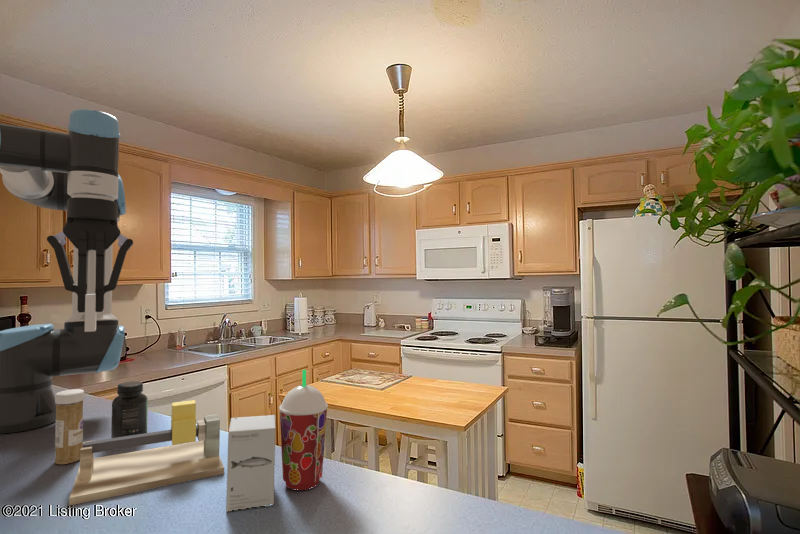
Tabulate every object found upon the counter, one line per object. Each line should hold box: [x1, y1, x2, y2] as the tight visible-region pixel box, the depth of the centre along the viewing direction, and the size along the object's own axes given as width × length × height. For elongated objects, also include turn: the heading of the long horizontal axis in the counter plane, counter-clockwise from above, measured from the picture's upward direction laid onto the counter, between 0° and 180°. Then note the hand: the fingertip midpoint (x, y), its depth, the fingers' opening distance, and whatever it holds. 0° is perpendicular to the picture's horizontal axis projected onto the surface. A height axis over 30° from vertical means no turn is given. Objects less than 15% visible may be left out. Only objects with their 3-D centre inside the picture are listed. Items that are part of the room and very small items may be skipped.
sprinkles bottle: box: [54, 388, 85, 465], centre depth 87 cm, size 5×5×14 cm
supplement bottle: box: [110, 381, 149, 438], centre depth 99 cm, size 7×7×12 cm
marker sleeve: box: [170, 399, 197, 446], centre depth 86 cm, size 4×4×7 cm
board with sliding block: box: [68, 413, 225, 506], centre depth 83 cm, size 16×23×8 cm
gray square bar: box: [83, 425, 198, 454], centre depth 83 cm, size 2×21×2 cm, turn 120°
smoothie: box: [278, 369, 329, 491], centre depth 79 cm, size 8×8×20 cm
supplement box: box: [225, 414, 277, 513], centre depth 73 cm, size 7×7×13 cm
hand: (90, 330), depth 80 cm, fingers closed
